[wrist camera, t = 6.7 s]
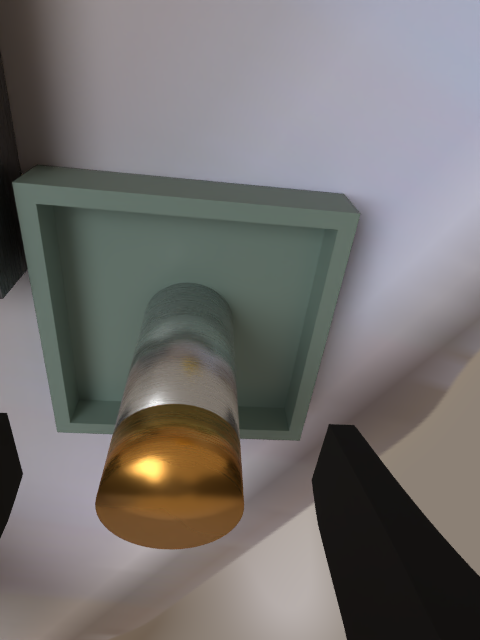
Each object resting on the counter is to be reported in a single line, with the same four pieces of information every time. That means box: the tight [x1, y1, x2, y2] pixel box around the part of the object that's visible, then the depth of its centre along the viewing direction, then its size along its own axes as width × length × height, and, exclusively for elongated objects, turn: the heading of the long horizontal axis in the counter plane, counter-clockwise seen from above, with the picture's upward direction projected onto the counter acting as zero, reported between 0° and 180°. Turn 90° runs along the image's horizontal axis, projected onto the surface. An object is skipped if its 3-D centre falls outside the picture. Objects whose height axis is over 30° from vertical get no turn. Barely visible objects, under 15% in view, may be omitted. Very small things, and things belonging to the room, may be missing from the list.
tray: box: [12, 165, 360, 441], centre depth 14 cm, size 9×9×2 cm
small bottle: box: [95, 283, 244, 549], centre depth 12 cm, size 3×3×7 cm
